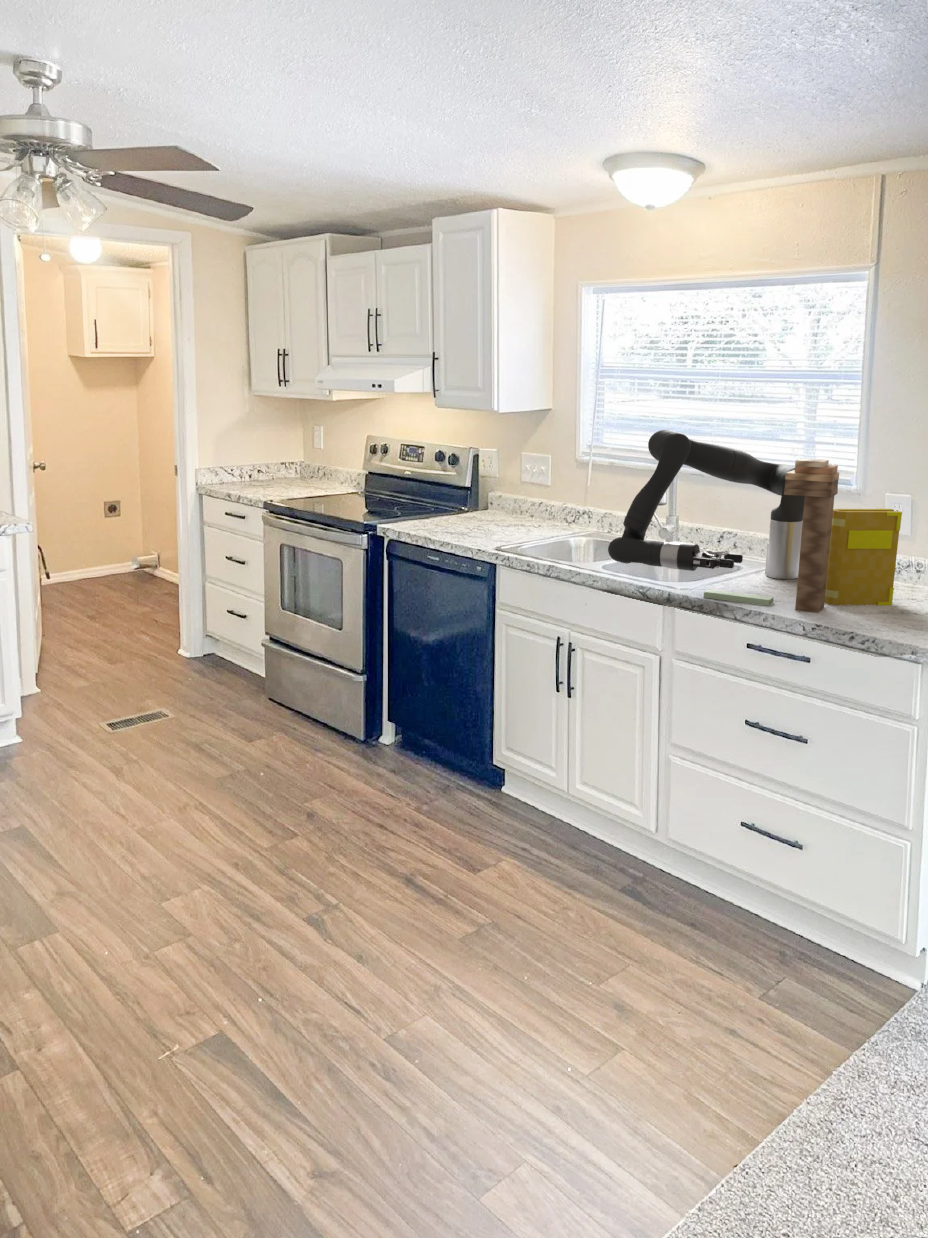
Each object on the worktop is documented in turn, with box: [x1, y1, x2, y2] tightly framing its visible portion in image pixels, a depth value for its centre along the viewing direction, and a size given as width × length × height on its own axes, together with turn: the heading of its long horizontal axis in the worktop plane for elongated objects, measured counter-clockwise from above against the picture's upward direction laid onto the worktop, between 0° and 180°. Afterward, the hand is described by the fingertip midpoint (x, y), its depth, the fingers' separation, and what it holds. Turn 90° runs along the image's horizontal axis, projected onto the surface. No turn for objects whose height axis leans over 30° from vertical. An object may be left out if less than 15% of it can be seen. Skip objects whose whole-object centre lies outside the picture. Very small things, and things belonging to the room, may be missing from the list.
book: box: [825, 508, 903, 607], centre depth 278 cm, size 17×7×25 cm, turn 92°
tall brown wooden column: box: [784, 458, 840, 614], centre depth 270 cm, size 12×9×39 cm
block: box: [703, 589, 775, 607], centre depth 283 cm, size 18×4×2 cm, turn 57°
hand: (738, 561), depth 281 cm, fingers open, 8 cm apart
